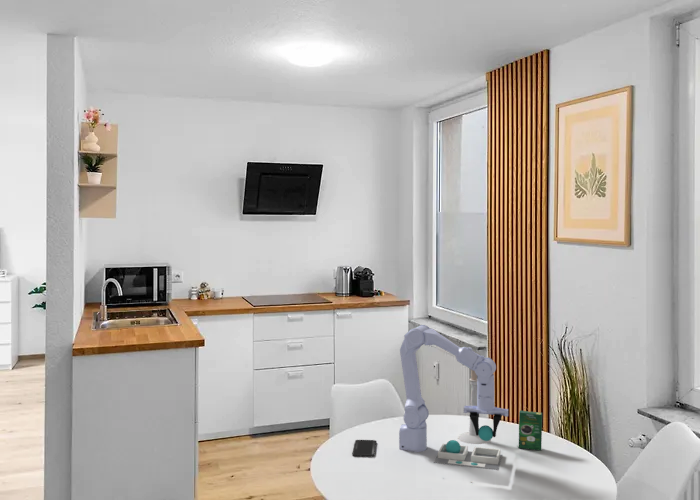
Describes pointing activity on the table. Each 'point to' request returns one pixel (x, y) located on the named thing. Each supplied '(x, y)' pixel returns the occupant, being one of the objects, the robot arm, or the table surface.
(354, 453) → the phone
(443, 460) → the sorting tray
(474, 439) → the candlestick
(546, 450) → the table surface
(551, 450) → the table surface
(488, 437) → the loose teal ball
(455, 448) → the seated teal ball
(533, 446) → the coffee box
